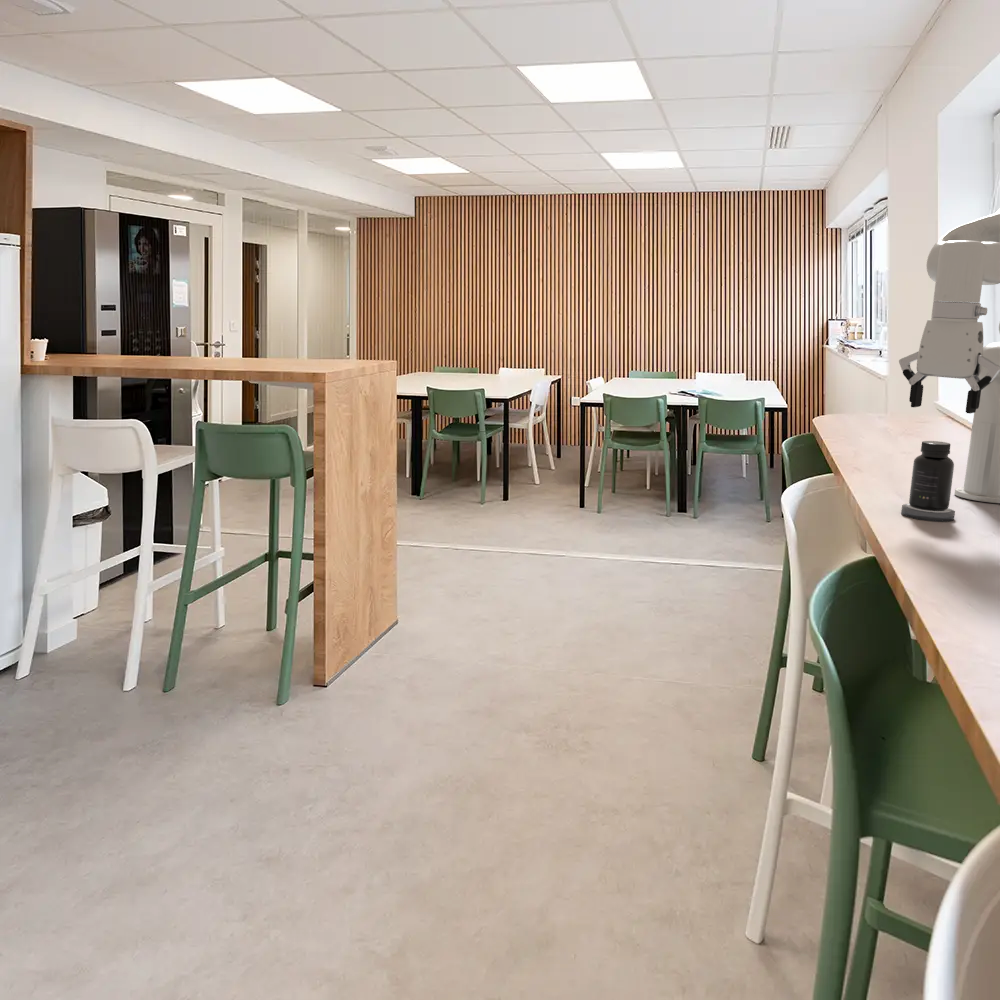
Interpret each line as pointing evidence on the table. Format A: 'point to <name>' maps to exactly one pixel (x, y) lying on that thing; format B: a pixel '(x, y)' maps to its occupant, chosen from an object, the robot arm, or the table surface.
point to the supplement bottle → (932, 477)
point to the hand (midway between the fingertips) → (942, 409)
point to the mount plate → (928, 514)
